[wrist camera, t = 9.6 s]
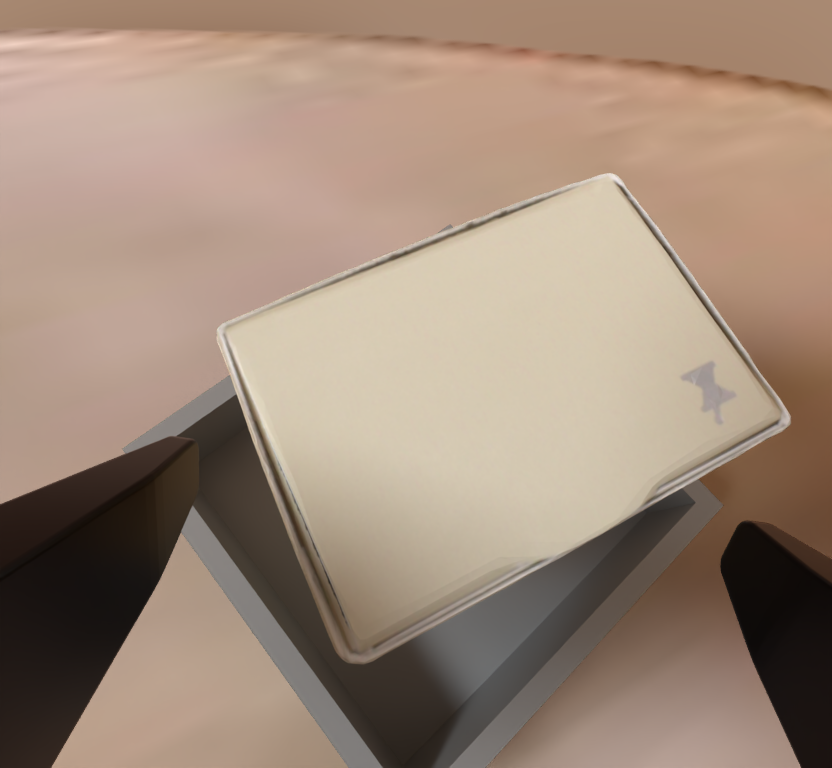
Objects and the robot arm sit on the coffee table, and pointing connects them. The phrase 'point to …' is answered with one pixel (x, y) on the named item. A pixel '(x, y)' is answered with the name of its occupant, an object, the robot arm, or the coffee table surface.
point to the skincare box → (487, 405)
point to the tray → (434, 649)
